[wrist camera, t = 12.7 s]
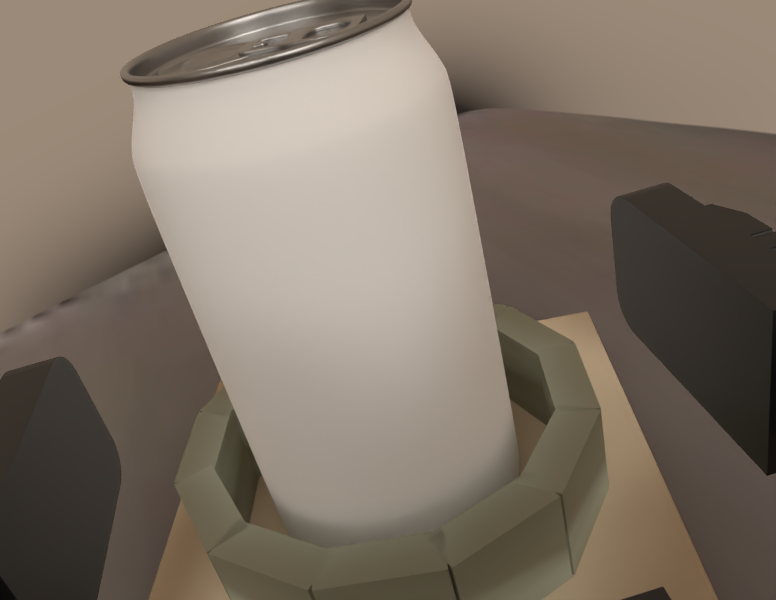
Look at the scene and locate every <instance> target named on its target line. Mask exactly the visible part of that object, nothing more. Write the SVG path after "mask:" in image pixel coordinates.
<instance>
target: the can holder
mask: <svg viewBox="0 0 776 600" xmlns="http://www.w3.org/2000/svg"><path fill="white" fill-rule="evenodd" d="M493 309H494V315H495V320H496V326H497V331H498V337H499V342H500V348H501V353H502V359H503V364H504V370H505V375H506V381H507V386H508V392H509V398H510V403H511V409H512V414H513V420H514V426H515V432H516V438H517V444H518V451H519V459H520V476H519V477H518V478H516V479H515V480H513V481H512V482H510V483H509V484H507V485H505V486H504V487H502V488H501V489H499V490H498V491H496V492H494V493H493V494H491V495H490V496H488V497H487V498H485V499H483V500H482V501H480V502H479V503H477V504H475V505H474V506H472V507H471V508H469V509H468V510H466V511H464V512H463V513H461V514H460V515H458V516H457V517H455V518H453V519H452V520H450V521H449V522H447V523H446V524H444V525H442V526H441V527H439V528H438V529H436V530H435V531H431V532H425V533H419V534H413V535H407V536H400V537H394V538H388V539H382V540H376V541H369V542H363V543H357V544H351V545H345V546H338V547H332V548H323V547H320V546H317V545H314V544H311V543H308V542H305V541H302V540H299V539H296V538H293V537H290V535H289V534H288V532H287V530H286V528H285V526H284V524H283V522H282V519H281V517H280V515H279V513H278V510H277V508H276V506H275V504H274V501H273V499H272V497H271V494H270V492H269V490H268V488H267V485H266V483H265V481H264V478H263V476H262V474H261V471H260V469H259V467H258V464H257V462H256V460H255V457H254V455H253V453H252V450H251V448H250V446H249V443H248V441H247V438H246V436H245V434H244V431H243V429H242V427H241V424H240V422H239V420H238V417H237V415H236V413H235V410H234V408H233V405H232V403H231V401H230V398H229V396H228V394H227V391H226V389H225V387H224V384H223V382H222V381H219V384H218V387H217V390H216V393H215V396H214V397H213V398H212V399H211V400H210V401H209V402H208V403H207V404H206V405H205V406H204V407H203V408H202V409H201V410H199V411H200V412H199V413H198V414H197V417H196V420H195V423H194V425H193V428H192V431H191V434H190V437H189V440H188V443H187V446H186V449H185V452H184V454H183V457H182V460H181V463H180V466H179V469H178V472H177V475H176V478H175V481H174V486H175V488H176V490H177V492H178V494H179V496H180V498H181V501H180V504H179V507H178V510H177V513H176V516H175V519H174V523H173V526H172V529H171V532H170V535H169V538H168V541H167V544H166V547H165V550H164V553H163V557H162V560H161V563H160V566H159V569H158V572H157V575H156V578H155V581H154V584H153V587H152V590H151V594H150V597H149V600H621V599H625V598H628V597H631V596H634V595H637V594H640V593H644V592H647V591H650V590H653V589H656V588H659V587H664V588H665V590H666V592H667V593H668V595H669V596H670V598H671V600H718V599H717V596H716V594H715V592H714V590H713V588H712V585H711V583H710V581H709V579H708V577H707V574H706V572H705V570H704V568H703V565H702V563H701V561H700V559H699V557H698V554H697V552H696V550H695V548H694V546H693V543H692V541H691V539H690V537H689V535H688V532H687V530H686V528H685V526H684V524H683V521H682V519H681V517H680V515H679V512H678V510H677V508H676V506H675V504H674V501H673V499H672V497H671V495H670V493H669V490H668V488H667V486H666V484H665V482H664V479H663V477H662V475H661V473H660V471H659V468H658V466H657V464H656V462H655V459H654V457H653V455H652V453H651V451H650V448H649V446H648V444H647V442H646V440H645V437H644V435H643V433H642V431H641V429H640V426H639V424H638V422H637V420H636V418H635V415H634V413H633V411H632V409H631V406H630V404H629V402H628V400H627V398H626V395H625V393H624V391H623V389H622V387H621V384H620V382H619V380H618V378H617V376H616V373H615V371H614V369H613V367H612V364H611V362H610V360H609V358H608V356H607V353H606V351H605V349H604V347H603V345H602V342H601V340H600V338H599V336H598V334H597V331H596V329H595V327H594V325H593V323H592V320H591V318H590V316H589V314H588V311H587V312H582V313H577V314H572V315H566V316H561V317H556V318H550V319H545V320H540V321H536V320H534V319H533V318H531V317H529V316H527V315H525V314H524V313H522V312H520V311H518V310H516V309H515V308H513V307H511V306H507V305H502V304H493Z"/></svg>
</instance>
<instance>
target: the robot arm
mask: <svg viewBox="0 0 776 600" xmlns="http://www.w3.org/2000/svg"><path fill="white" fill-rule="evenodd" d="M611 225H612V237H613V248H614V260H615V272H616V284H617V294H618V299H619V303H620V307H621V310H622V312H623V315H624V317H625V319H626V321H627V323H628V325H629V327H630V328H631V330H632V331H633V332H634V333H635V334H636V335H637V336H638V338H639V339H640V340H641V341H642V342H643V343H644V344H645V345H646V346H647V347H648V348H649V349H650V350H651V351H652V353H653V354H654V355H655V356H656V357H657V358H658V359H659V360H660V361H661V362H662V363H663V364H664V365H665V367H666V368H667V369H668V370H669V371H670V372H671V373H672V374H673V375H674V376H675V377H676V378H677V379H678V381H679V382H680V383H681V384H682V385H683V386H684V387H685V388H686V389H687V390H688V391H689V392H690V393H691V394H692V396H693V397H694V398H695V399H696V400H697V401H698V402H699V403H700V404H701V405H702V406H703V407H704V408H705V410H706V411H707V412H708V413H709V414H710V415H711V416H712V417H713V418H714V419H715V420H716V421H717V422H718V423H719V425H720V426H721V427H722V428H723V429H724V430H725V431H726V432H727V433H728V434H729V435H730V436H731V437H732V439H733V440H734V441H735V442H736V443H737V444H738V445H739V446H740V447H741V448H742V449H743V450H744V451H745V452H746V454H747V455H748V456H749V457H750V458H751V459H752V460H753V461H754V462H755V463H756V464H757V465H758V466H759V468H760V469H761V470H762V471H763V472H764V473H765V474H766V475H767V476H768V475H771V474H774V473H776V232H774V233H773V231H772V228H770V227H769V226H767V225H765V224H764V223H762V222H760V221H759V220H757V219H755V218H754V217H752V216H750V215H749V214H747V213H744V212H740V211H736V210H732V209H728V208H724V207H720V206H717V205H713V204H710V205H706V206H704V205H703V204H701V203H700V202H698V201H696V200H695V199H693V198H692V197H690V196H689V195H687V194H686V193H684V192H682V191H681V190H679V189H678V188H676V187H675V186H673V185H671V184H669V183H663V184H659V185H656V186H652V187H649V188H645V189H642V190H638V191H635V192H631V193H628V194H625V195H621V196H618V197H616V198H614V200H613V202H612V205H611ZM120 485H121V465H120V460H119V455H118V452H117V449H116V446H115V443H114V441H113V439H112V437H111V435H110V433H109V431H108V429H107V427H106V426H105V424H104V422H103V420H102V418H101V416H100V414H99V413H98V411H97V409H96V407H95V405H94V403H93V401H92V399H91V398H90V396H89V394H88V392H87V390H86V388H85V386H84V385H83V383H82V381H81V379H80V377H79V375H78V373H77V372H76V370H75V368H74V367H73V365H72V364H71V363H70V362H69V361H68V360H67V359H66V358H64V357H60V356H59V357H56V358H53V359H49V360H46V361H42V362H39V363H35V364H32V365H28V366H25V367H21V368H18V369H14V370H11V371H8V372H6V373H5V374H4V375H3V376H2V378H1V380H0V600H97V598H98V593H99V588H100V583H101V578H102V573H103V568H104V563H105V558H106V553H107V549H108V544H109V539H110V534H111V529H112V524H113V519H114V514H115V509H116V504H117V499H118V494H119V490H120ZM621 600H671V598H670V596H669V595H668V593H667V592H666V590H665V588H664V587H659V588H656V589H653V590H650V591H647V592H644V593H640V594H637V595H634V596H631V597H628V598H625V599H621Z"/></svg>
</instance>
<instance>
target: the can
mask: <svg viewBox="0 0 776 600" xmlns="http://www.w3.org/2000/svg"><path fill="white" fill-rule="evenodd" d="M411 3H412V0H301V1H297V2H293V3H288V4H284V5H280V6H276V7H272V8H269V9H265V10H261V11H258V12H254V13H250V14H247V15H243V16H240V17H237V18H233V19H230V20H227V21H224V22H220V23H217V24H214V25H211V26H208V27H205V28H203V29H200V30H197V31H194V32H191V33H189V34H186V35H183V36H181V37H178V38H176V39H173V40H171V41H168V42H166V43H163V44H161V45H159V46H157V47H155V48H152V49H151V50H148V51H146V52H144V53H143V54H141V55H139V56H137V57H135V58H134V59H132V60H131V61H130V62H128V63H127V64H126V65H125V66H124V67H123V68H122V70H121V72H120V76H121V78H122V80H123V81H124V82H125V83H127V84H128V85H130V87H131V91H132V94H133V101H134V111H133V126H132V160H133V163H134V167H135V170H136V173H137V176H138V179H139V181H140V184H141V187H142V189H143V192H144V194H145V197H146V200H147V202H148V205H149V207H150V209H151V212H152V214H153V217H154V219H155V222H156V224H157V226H158V229H159V231H160V234H161V236H162V238H163V241H164V243H165V246H166V248H167V251H168V253H169V255H170V258H171V260H172V263H173V265H174V267H175V270H176V272H177V275H178V277H179V279H180V282H181V284H182V287H183V289H184V291H185V294H186V296H187V299H188V301H189V303H190V306H191V308H192V311H193V313H194V315H195V318H196V320H197V322H198V325H199V327H200V330H201V332H202V334H203V337H204V339H205V341H206V344H207V346H208V349H209V351H210V353H211V356H212V358H213V360H214V363H215V365H216V368H217V370H218V372H219V375H220V377H221V379H222V382H223V384H224V387H225V389H226V391H227V394H228V396H229V398H230V401H231V403H232V405H233V408H234V410H235V413H236V415H237V417H238V420H239V422H240V424H241V427H242V429H243V431H244V434H245V436H246V438H247V441H248V443H249V446H250V448H251V450H252V453H253V455H254V457H255V460H256V462H257V464H258V467H259V469H260V471H261V474H262V476H263V478H264V481H265V483H266V485H267V488H268V490H269V492H270V494H271V497H272V499H273V501H274V504H275V506H276V508H277V510H278V513H279V515H280V517H281V519H282V522H283V524H284V526H285V528H286V530H287V532H288V534H289V535H290V537H293V538H296V539H299V540H302V541H305V542H308V543H311V544H314V545H317V546H320V547H323V548H332V547H338V546H345V545H351V544H357V543H363V542H369V541H376V540H382V539H388V538H394V537H400V536H407V535H413V534H419V533H425V532H431V531H435V530H436V529H438V528H439V527H441V526H442V525H444V524H446V523H447V522H449V521H450V520H452V519H453V518H455V517H457V516H458V515H460V514H461V513H463V512H464V511H466V510H468V509H469V508H471V507H472V506H474V505H475V504H477V503H479V502H480V501H482V500H483V499H485V498H487V497H488V496H490V495H491V494H493V493H494V492H496V491H498V490H499V489H501V488H502V487H504V486H505V485H507V484H509V483H510V482H512V481H513V480H515V479H516V478H518V477H519V476H520V459H519V451H518V444H517V438H516V432H515V426H514V420H513V414H512V409H511V403H510V398H509V392H508V386H507V381H506V375H505V370H504V364H503V359H502V353H501V348H500V342H499V337H498V331H497V326H496V320H495V315H494V309H493V304H492V298H491V293H490V287H489V282H488V277H487V271H486V266H485V260H484V255H483V250H482V244H481V239H480V233H479V228H478V222H477V217H476V212H475V206H474V201H473V196H472V190H471V185H470V180H469V174H468V169H467V164H466V158H465V153H464V148H463V143H462V138H461V133H460V127H459V122H458V117H457V112H456V107H455V103H454V98H453V93H452V89H451V84H450V81H449V78H448V74H447V71H446V69H445V67H444V65H443V63H442V62H441V60H440V59H439V57H438V56H437V54H436V53H435V51H434V50H433V49H432V47H431V46H430V45H429V43H428V42H427V41H426V39H425V38H424V37H423V35H422V34H421V33H420V31H419V30H418V28H417V26H416V25H415V23H414V21H413V19H412V16H411V13H410V10H409V7H410V6H411Z"/></svg>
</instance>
